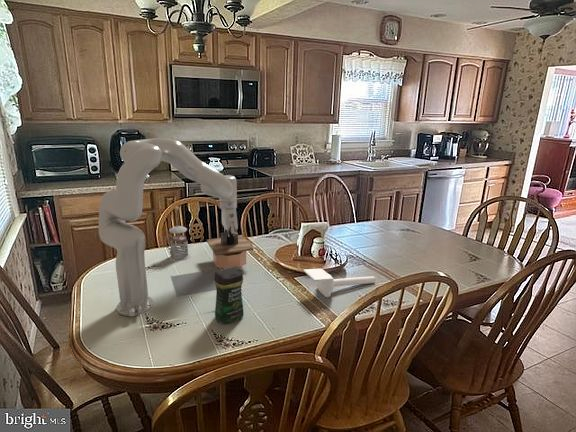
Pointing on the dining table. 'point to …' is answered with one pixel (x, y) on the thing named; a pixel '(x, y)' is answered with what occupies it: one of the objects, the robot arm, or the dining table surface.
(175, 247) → the lantern
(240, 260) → the bowl
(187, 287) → the mat
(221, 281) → the coffee jar
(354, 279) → the white mallet
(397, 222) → the dining table surface
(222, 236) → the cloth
